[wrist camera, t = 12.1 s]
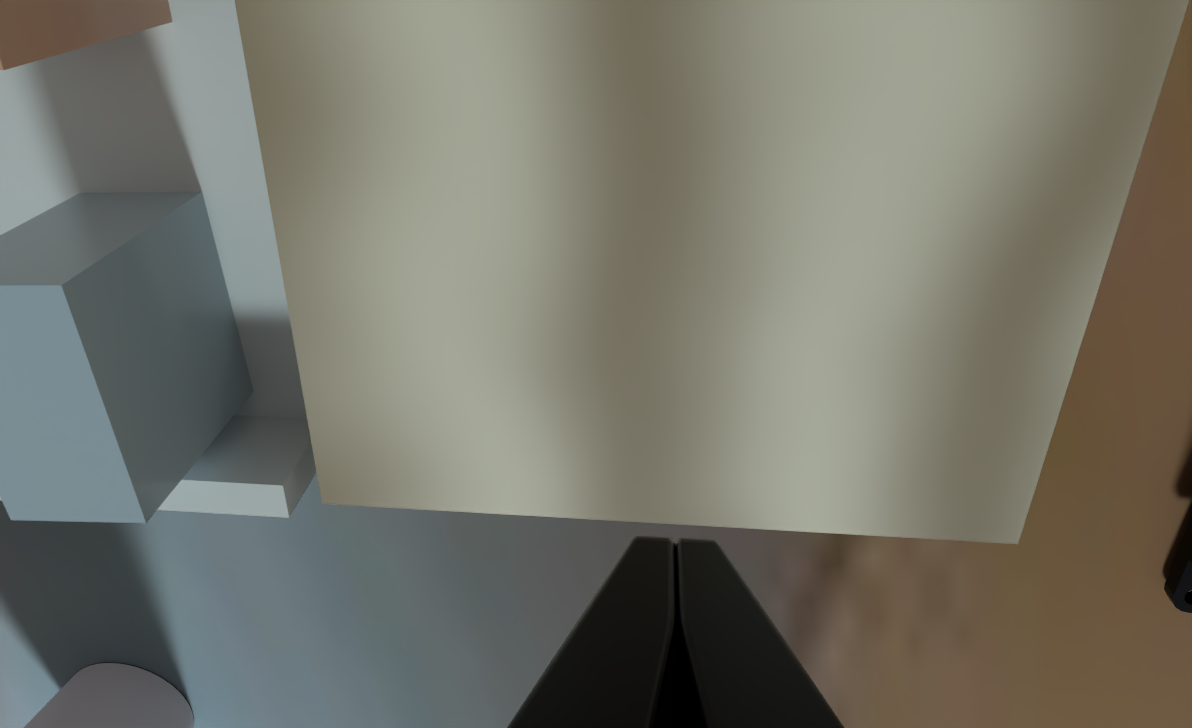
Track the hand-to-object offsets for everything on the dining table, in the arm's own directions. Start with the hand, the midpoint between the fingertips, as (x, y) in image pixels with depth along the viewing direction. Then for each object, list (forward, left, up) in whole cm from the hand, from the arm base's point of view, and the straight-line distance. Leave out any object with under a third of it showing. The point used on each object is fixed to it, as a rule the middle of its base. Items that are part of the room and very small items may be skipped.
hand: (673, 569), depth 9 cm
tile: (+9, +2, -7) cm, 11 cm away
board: (0, -2, -10) cm, 10 cm away
